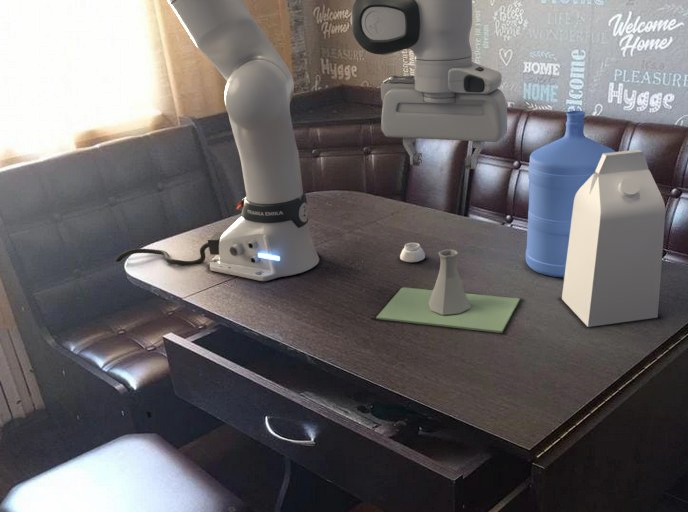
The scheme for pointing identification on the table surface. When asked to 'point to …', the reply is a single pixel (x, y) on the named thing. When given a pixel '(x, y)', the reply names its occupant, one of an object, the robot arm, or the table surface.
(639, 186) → the milk
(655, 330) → the table surface
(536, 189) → the water jug
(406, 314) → the placemat
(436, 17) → the robot arm
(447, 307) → the flask
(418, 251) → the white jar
